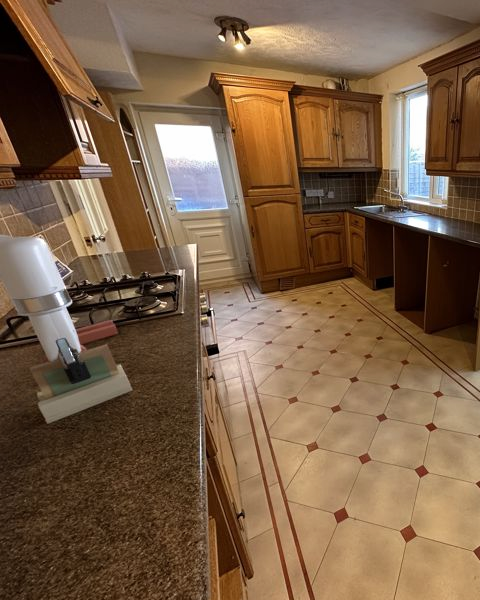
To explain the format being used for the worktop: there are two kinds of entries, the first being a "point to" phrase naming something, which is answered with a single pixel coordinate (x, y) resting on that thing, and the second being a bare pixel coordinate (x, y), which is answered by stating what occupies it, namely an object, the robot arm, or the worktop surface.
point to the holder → (83, 397)
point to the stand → (96, 331)
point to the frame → (57, 381)
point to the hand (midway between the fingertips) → (80, 377)
